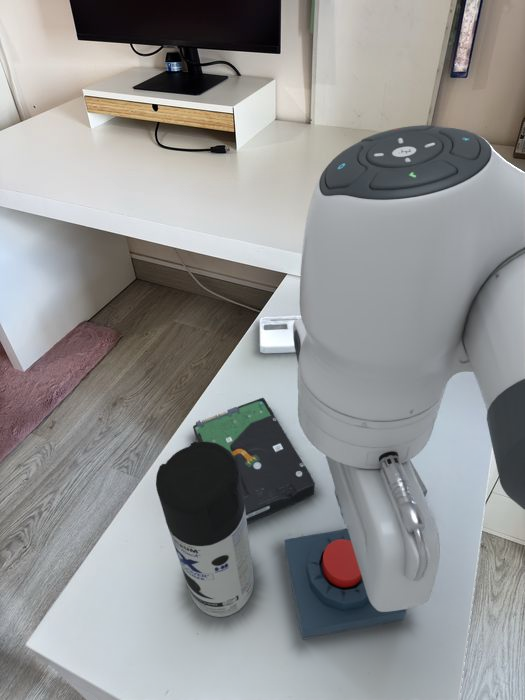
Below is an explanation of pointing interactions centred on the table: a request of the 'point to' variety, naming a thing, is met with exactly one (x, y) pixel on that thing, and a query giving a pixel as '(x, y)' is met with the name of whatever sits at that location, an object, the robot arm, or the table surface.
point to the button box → (327, 591)
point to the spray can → (208, 525)
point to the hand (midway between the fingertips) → (349, 508)
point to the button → (341, 564)
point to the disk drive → (259, 457)
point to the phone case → (277, 335)
